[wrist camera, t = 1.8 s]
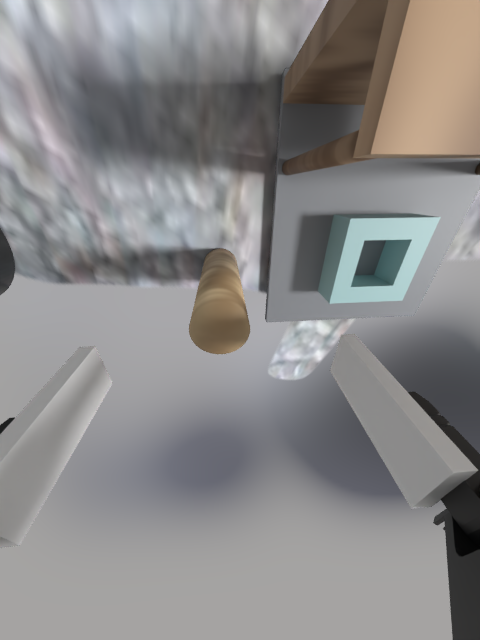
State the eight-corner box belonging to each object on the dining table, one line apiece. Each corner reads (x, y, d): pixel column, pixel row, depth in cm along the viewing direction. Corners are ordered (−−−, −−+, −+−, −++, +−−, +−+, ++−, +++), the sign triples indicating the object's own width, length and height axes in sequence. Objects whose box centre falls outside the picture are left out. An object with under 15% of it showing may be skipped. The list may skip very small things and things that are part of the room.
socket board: (265, 318, 30) (271, 337, 26) (282, 73, 17) (299, 41, 14) (409, 312, 32) (434, 329, 28) (523, 80, 19) (600, 53, 15)
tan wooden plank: (275, 175, 21) (370, 154, 8) (281, 82, 18) (477, -262, 4) (476, 175, 22) (861, 155, 9) (519, 88, 19) (1251, -156, 6)
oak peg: (205, 281, 27) (193, 355, 15) (202, 248, 24) (184, 305, 13) (237, 280, 27) (249, 352, 15) (236, 247, 25) (250, 302, 13)
